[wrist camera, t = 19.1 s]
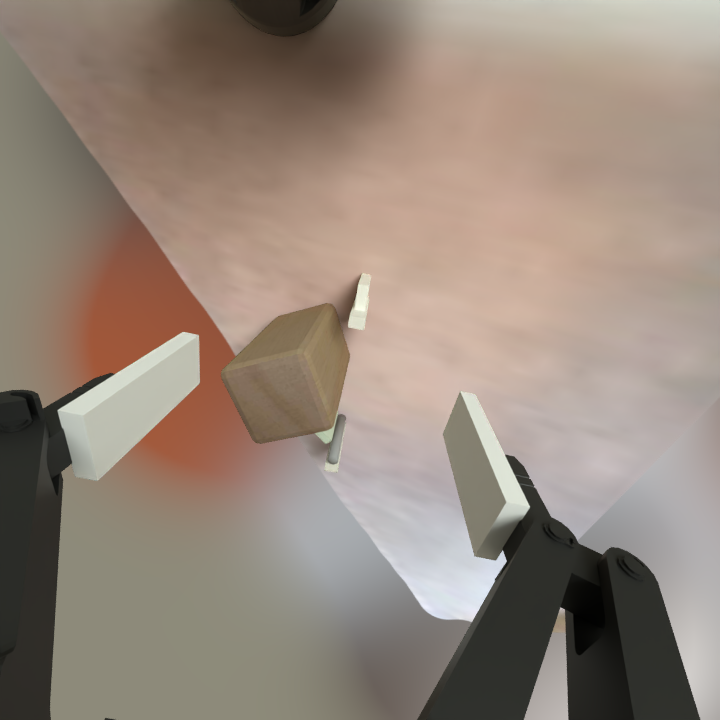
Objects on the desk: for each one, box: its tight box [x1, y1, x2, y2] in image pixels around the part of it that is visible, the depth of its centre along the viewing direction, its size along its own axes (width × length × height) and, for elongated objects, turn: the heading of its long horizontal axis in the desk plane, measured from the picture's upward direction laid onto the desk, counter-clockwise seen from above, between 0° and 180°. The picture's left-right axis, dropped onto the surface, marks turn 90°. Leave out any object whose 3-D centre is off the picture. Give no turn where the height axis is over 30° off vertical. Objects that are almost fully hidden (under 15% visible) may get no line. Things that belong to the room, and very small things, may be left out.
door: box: [315, 411, 338, 444], centre depth 51 cm, size 19×3×8 cm, turn 40°
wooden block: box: [221, 303, 350, 444], centre depth 43 cm, size 10×10×20 cm
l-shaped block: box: [324, 273, 371, 473], centre depth 49 cm, size 31×2×11 cm, turn 170°
